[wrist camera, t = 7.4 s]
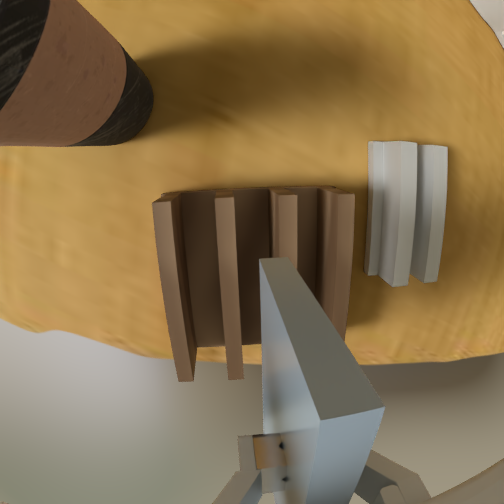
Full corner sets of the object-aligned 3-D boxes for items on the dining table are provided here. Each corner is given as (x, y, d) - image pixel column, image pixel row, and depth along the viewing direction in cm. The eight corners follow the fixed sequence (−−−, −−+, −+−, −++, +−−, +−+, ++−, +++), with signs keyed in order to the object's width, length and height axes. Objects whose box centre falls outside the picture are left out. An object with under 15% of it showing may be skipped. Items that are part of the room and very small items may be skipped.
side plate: (287, 257, 13) (385, 406, 5) (283, 434, 16) (315, 565, 8) (259, 258, 13) (320, 420, 5) (263, 436, 16) (287, 570, 8)
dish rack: (331, 186, 26) (360, 194, 20) (325, 331, 30) (345, 367, 24) (163, 193, 25) (146, 203, 19) (181, 342, 29) (173, 381, 23)
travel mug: (165, 63, 22) (59, -95, 3) (149, 151, 24) (-31, 147, 5) (83, 64, 21) (-79, -20, 2) (69, 147, 23) (-129, 161, 4)
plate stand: (430, 147, 25) (455, 148, 22) (422, 266, 29) (444, 280, 25) (368, 141, 25) (390, 139, 21) (363, 272, 28) (382, 288, 25)
